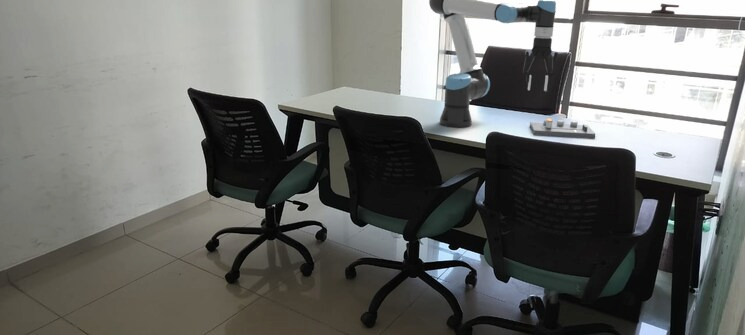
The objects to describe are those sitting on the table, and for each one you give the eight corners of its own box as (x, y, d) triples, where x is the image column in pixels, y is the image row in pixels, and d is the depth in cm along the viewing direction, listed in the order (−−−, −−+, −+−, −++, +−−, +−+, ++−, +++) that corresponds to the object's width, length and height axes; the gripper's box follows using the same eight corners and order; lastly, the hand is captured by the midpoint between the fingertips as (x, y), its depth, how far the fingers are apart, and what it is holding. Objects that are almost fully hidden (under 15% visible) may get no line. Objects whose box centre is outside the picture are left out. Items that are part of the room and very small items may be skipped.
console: (533, 134, 238) (534, 125, 236) (529, 126, 252) (530, 118, 251) (594, 138, 233) (596, 129, 232) (587, 129, 248) (588, 121, 247)
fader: (546, 128, 240) (547, 120, 238) (545, 125, 243) (546, 118, 242) (551, 128, 239) (552, 121, 238) (550, 126, 243) (551, 118, 242)
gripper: (520, 37, 228) (515, 90, 235) (567, 38, 225) (560, 92, 232) (519, 36, 235) (514, 87, 242) (565, 37, 232) (558, 89, 239)
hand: (536, 90), depth 237 cm, fingers open, 6 cm apart
